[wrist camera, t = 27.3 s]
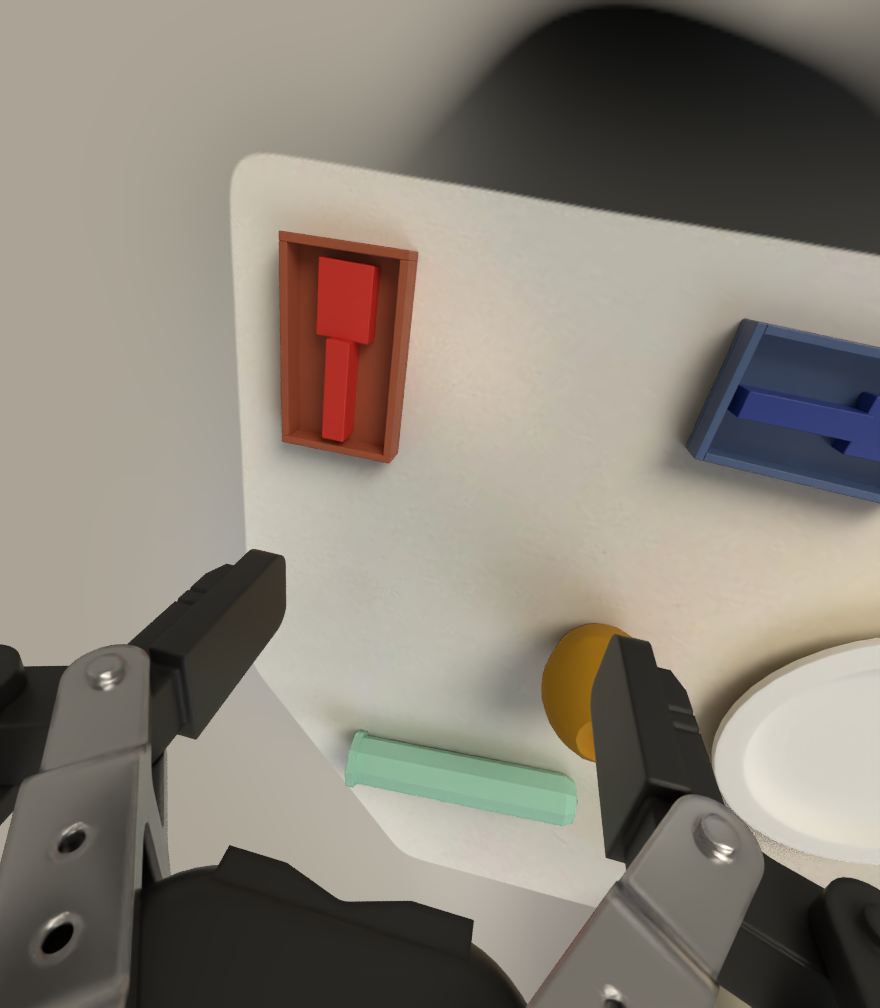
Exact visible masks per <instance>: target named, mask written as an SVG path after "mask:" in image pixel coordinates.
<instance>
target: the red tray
mask: <svg viewBox="0 0 880 1008" xmlns="http://www.w3.org/2000/svg"><path fill="white" fill-rule="evenodd" d="M279 240H280V241H279V281H280V345H281V409H282V442H287V443H292V444H297V445H302V446H307V447H312V448H316V449H321V450H326V451H331V452H336V453H341V454H346V455H351V456H356V457H361V458H365V459H370V460H375V461H380V462H385V463H390V462H391V461H392V460H393V458H394V457H395V456H396V455H397V453H398V447H399V437H400V427H401V418H402V408H403V398H404V388H405V378H406V368H407V359H408V349H409V339H410V329H411V319H412V310H413V300H414V290H415V280H416V270H417V260H418V252H416V251H410V250H403V249H397V248H390V247H384V246H377V245H371V244H364V243H358V242H351V241H344V240H338V239H331V238H325V237H318V236H312V235H305V234H299V233H292V232H285V231H279ZM319 256H323V257H332V258H338V259H343V260H349V261H354V262H360V263H365V264H371V265H377V266H381V272H380V283H379V294H378V306H377V317H376V328H375V339H374V342H372V343H370V344H362V343H360V350H359V363H358V376H357V390H356V403H355V416H354V429H353V434H352V435H350V436H349V437H348V438H347V439H346V440H345V441H343V442H340V441H336V440H331V439H327V438H323V437H322V423H323V400H324V377H325V355H326V339H328V338H331V337H327V336H322V335H317V334H316V328H317V300H318V271H319Z"/></svg>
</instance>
